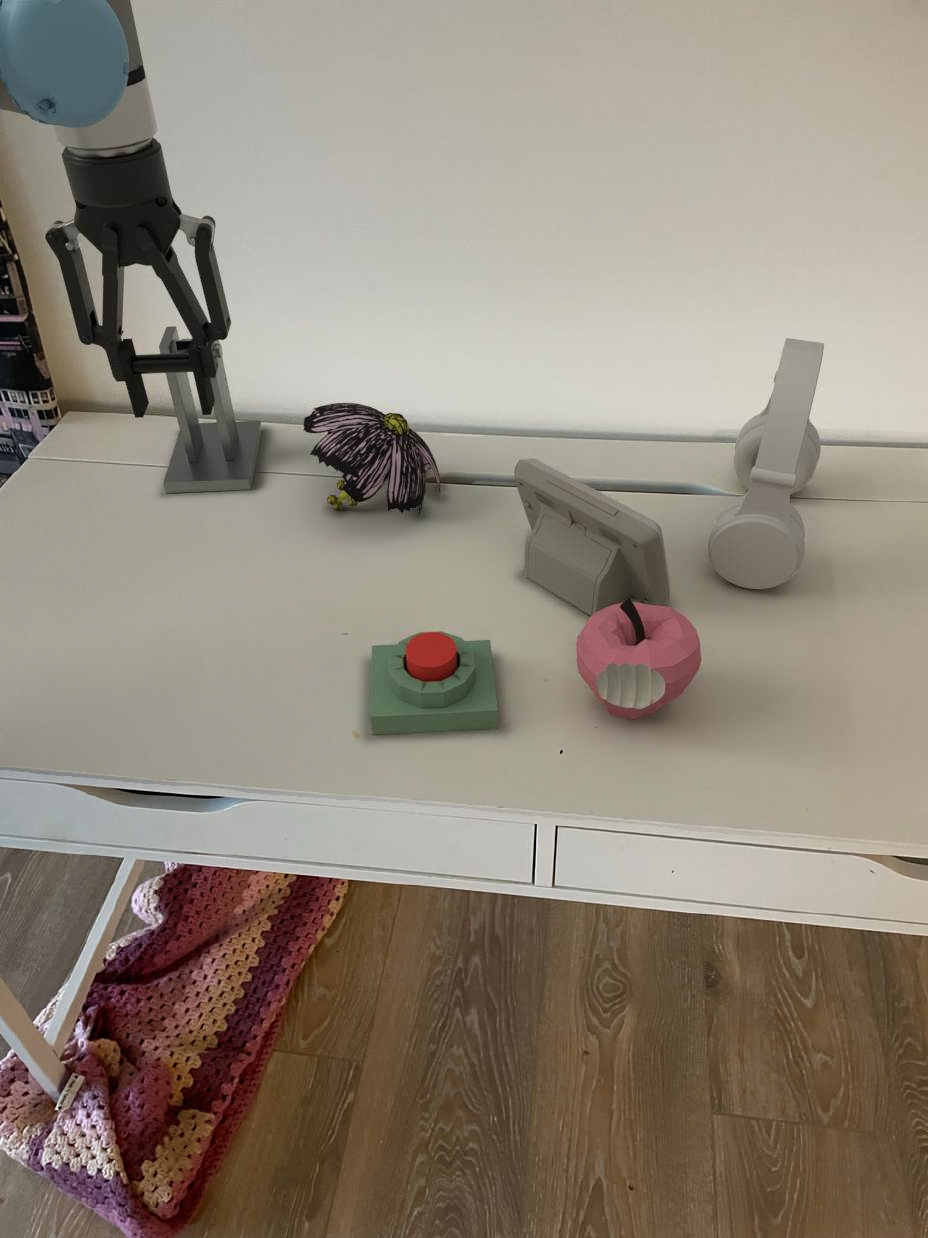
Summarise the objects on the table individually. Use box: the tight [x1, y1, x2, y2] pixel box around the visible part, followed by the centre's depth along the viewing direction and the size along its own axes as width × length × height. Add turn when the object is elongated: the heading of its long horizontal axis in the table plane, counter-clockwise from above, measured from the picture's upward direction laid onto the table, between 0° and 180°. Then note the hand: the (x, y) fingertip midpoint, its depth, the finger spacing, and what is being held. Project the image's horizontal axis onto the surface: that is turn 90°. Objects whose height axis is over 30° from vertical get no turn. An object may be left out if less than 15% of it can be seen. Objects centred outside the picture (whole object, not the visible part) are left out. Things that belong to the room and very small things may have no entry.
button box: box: [369, 630, 499, 736], centre depth 76 cm, size 10×8×4 cm
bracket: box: [158, 325, 263, 494], centre depth 99 cm, size 12×9×15 cm
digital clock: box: [513, 458, 671, 617], centre depth 85 cm, size 16×9×11 cm, turn 33°
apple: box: [575, 596, 702, 721], centre depth 73 cm, size 10×9×10 cm
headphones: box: [707, 337, 825, 590], centre depth 87 cm, size 20×8×19 cm, turn 160°
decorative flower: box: [303, 402, 442, 517], centre depth 95 cm, size 15×12×15 cm
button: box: [406, 631, 457, 682], centre depth 75 cm, size 4×4×2 cm
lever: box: [131, 338, 193, 375], centre depth 90 cm, size 13×6×2 cm, turn 3°
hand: (175, 408), depth 88 cm, fingers closed on lever, 5 cm apart
